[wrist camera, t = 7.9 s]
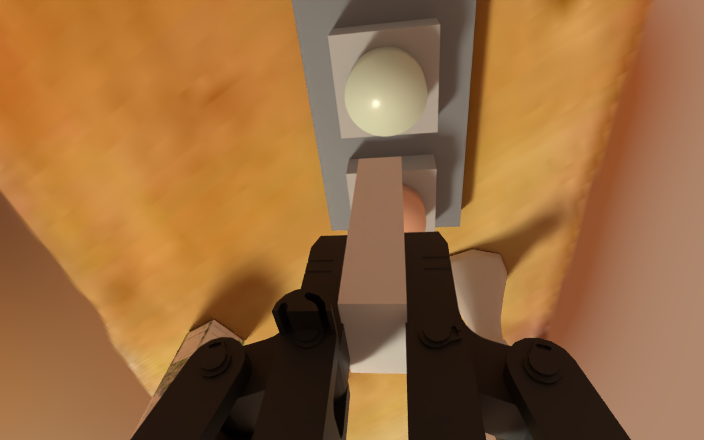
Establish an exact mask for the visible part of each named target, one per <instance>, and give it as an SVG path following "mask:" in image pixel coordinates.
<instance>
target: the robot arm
mask: <svg viewBox="0 0 704 440" xmlns="http://www.w3.org/2000/svg"><path fill="white" fill-rule="evenodd" d="M272 313H273V316H274V319H275V322H276V324H277V327H278V330H279V333H278V334H277V335H275V336H273V337H271V338H268V339H266V340H262V341H259V342H255V343H252V344H249V345H245V346H242V344H241V342H240V341H238V340H236V339H234V338H232V337H219V338H216V339H212V340H210V341H208V342H206V343H205V344H203V345H201V346H200V347H199V348H198V349H197V350H196V351H195V352H194V353H193V354H192V355H191V356H190V358H189V359H188V361H187V362H186V363H185V365H184V366H183V367H182V369H181V370H180V372H179V373H178V374H177V376H176V377H175V378H174V380H173V381H172V383H171V384H170V385H169V387H168V388H167V389H166V391H165V392H164V394H163V395H162V396H161V398H160V399H159V401H158V402H157V403H156V405H155V406H154V407H153V409H152V410H151V412H150V413H149V414H148V416H147V417H146V418H145V420H144V421H143V423H142V424H141V425H140V427H139V428H138V429H137V431H136V432H135V434H134V435H133V436H132V438H131V439H130V440H346V434H347V423H348V411H349V400H350V391H349V384H348V376H349V366H350V369H351V373H399V374H407V403H408V439H409V440H486V436H485V433H488V434H491V435H493V436H495V437H496V440H631V439H630V438H629V436H628V435H627V434H626V432H625V431H624V429H623V428H622V427H621V425H620V424H619V422H618V421H617V419H616V418H615V417H614V415H613V414H612V412H611V411H610V410H609V408H608V407H607V405H606V404H605V402H604V401H603V399H602V398H601V397H600V395H599V394H598V392H597V391H596V390H595V388H594V387H593V385H592V384H591V382H590V381H589V380H588V378H587V377H586V375H585V374H584V372H583V371H582V370H581V368H580V367H579V365H578V364H577V362H576V361H575V360H574V359H573V358H572V357H571V356H570V354H569V353H568V352H567V351H566V350H565V349H563V348H562V347H560V346H558V345H557V344H554V343H553V342H551V341H548V340H544V339H540V338H524V339H522V340H520V341H517V342H515V343H514V344H513V345H512V346H508V345H505V344H501V343H498V342H494V341H491V340H488V339H486V338H483V337H481V336H479V335H478V334H476V333H474V332H473V331H472V330H471V329H470V328H468V327H467V326H466V324H465V323H464V321H463V320H462V318H461V315H460V312H459V307H458V302H457V296H456V290H455V284H454V278H453V272H452V267H451V261H450V255H449V249H448V243H447V242H446V241H445V239H444V238H443V237H442V236H441V234H440V233H439V232H405V233H404V216H403V189H402V161H401V156H400V157H383V158H365V159H359V161H358V168H357V174H356V181H355V188H354V195H353V202H352V209H351V215H350V222H349V229H348V235H340V236H320V238H319V239H318V240H317V241H316V242H315V244H314V245H313V246H312V247H311V251H310V255H309V258H308V263H307V266H306V270H305V274H304V278H303V282H302V286H301V289H298V290H294V291H292V292H290V293H288V294H286V295H284V296H283V297H282V298H281V299H280V300H279V301H278V302H277V303H276V305H275V306H274V308H273V310H272Z"/></svg>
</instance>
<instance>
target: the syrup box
mask: <svg viewBox="0 0 704 440" xmlns="http://www.w3.org/2000/svg"><path fill="white" fill-rule="evenodd" d="M219 337H232V338H234V339H236V340H238V341H240V342H241V344H242V346H243V345H244V341H243V340H242V339H241V338H239V337H238V336H237V335H235V334H234V333H232V332H231V331H230V330H228V329H227V328H225V327H224V326H223V325H221V324H220V323H218V322H217V321H216V320H214V319H213V320H211V321H209V322H207V323H205V324H204V325H202V326H200V327H198V328H196V329H194V330H192V331H190V332H189V333H187V335H186V337H185V339H184V340H183V342H182V344H181V346H180V348H179V350H178V351H177V353H176V355H175V357H174V359H173V361H172V363H171V364H170V366H169V368H168V370H167V372H166V374H165V375H164V377H163V379H162V381H161V383H160V385H159V386H158V388H157V390H156V392H155V394H154V396H153V398H152V399H151V401H150V403H149V405H148V407H147V409H146V411H145V412H144V414H143V416H142V418H141V420H140V422H139V424H138V425H137V427H136V429H135V431H134V433H133V435H134V434H135V432H136V431H137V429H138V428H139V427H140V425H141V424H142V423H143V421H144V420H145V418H146V417H147V416H148V414H149V413H150V412H151V410H152V409H153V407H154V406H155V405H156V403H157V402H158V401H159V399H160V398H161V396H162V395H163V394H164V392H165V391H166V389H167V388H168V387H169V385H170V384H171V383H172V381H173V380H174V378H175V377H176V376H177V374H178V373H179V372H180V370H181V369H182V367H183V366H184V365H185V363H186V362H187V361H188V359H189V358H190V356H191V355H192V354H193V353H194V352H195V351H196V350H197V349H198V348H199V347H200V346H201V345H203V344H205V343H206V342H208V341H210V340H212V339H216V338H219ZM133 435H132V436H133ZM132 436H131V438H132ZM131 438H130V439H131Z"/></svg>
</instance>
